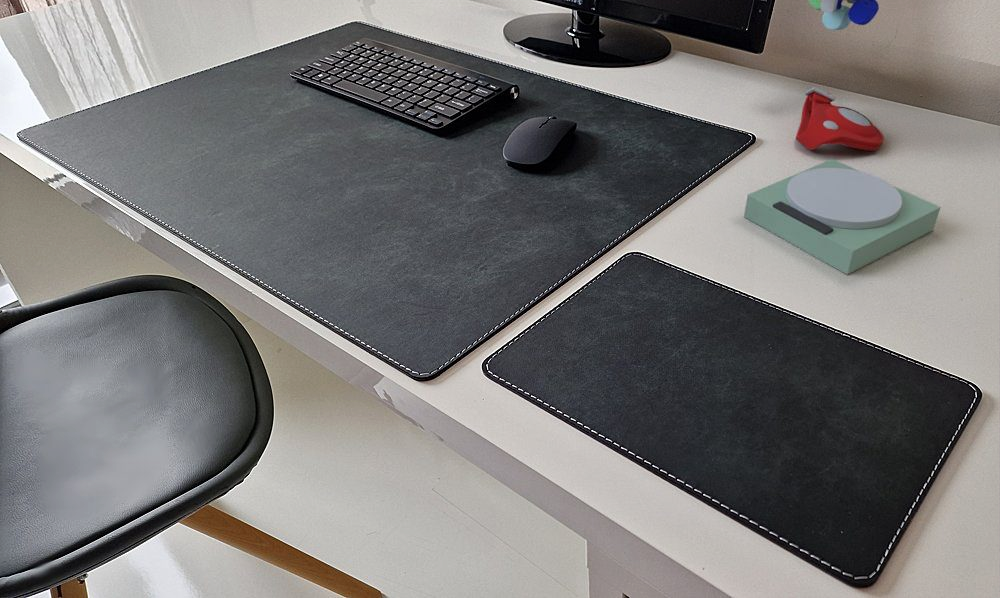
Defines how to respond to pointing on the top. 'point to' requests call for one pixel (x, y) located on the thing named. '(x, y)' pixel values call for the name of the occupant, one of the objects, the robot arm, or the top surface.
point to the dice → (848, 14)
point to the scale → (841, 214)
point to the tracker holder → (835, 124)
